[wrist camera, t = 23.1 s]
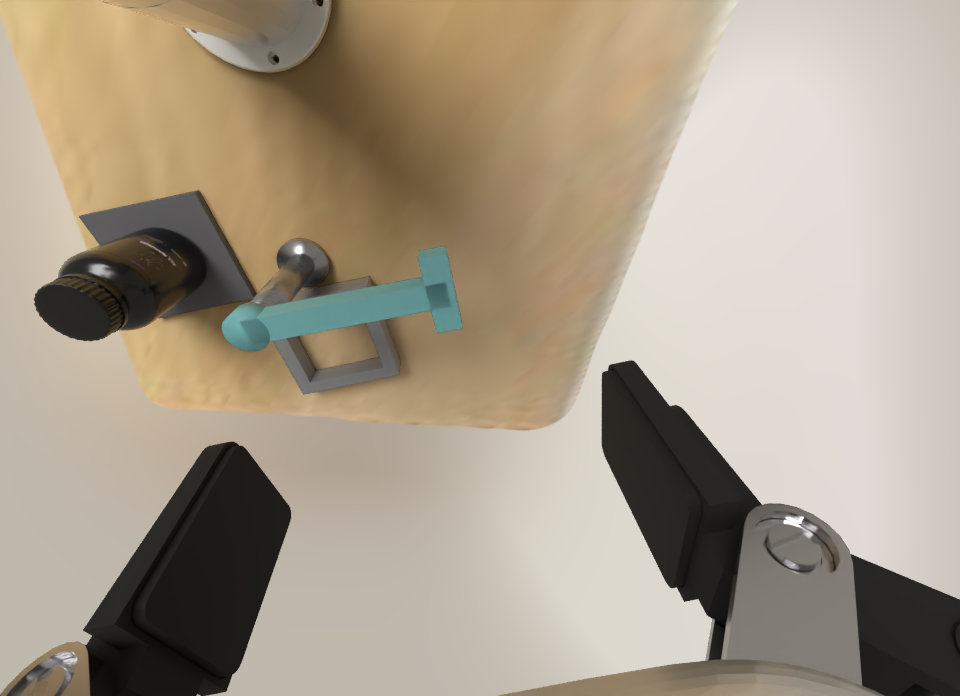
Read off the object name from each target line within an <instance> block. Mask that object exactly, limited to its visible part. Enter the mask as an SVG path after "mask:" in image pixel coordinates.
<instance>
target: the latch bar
mask: <svg viewBox="0 0 960 696" xmlns="http://www.w3.org/2000/svg"><path fill="white" fill-rule="evenodd" d="M418 262H419V266H420V270H421V273H422V277H420V278H414V279H409V280H404V281H399V282H393V283H388V284H383V285H378V286H373V287H367V288H362V289H357V290H352V291H346V292H341V293H336V294H331V295H326V296H320V297H315V298H310V299H305V300H299V301H294V302H289V303H284V304H279V305H273V306H268V307H265V306H263V305H261V304H257V303H244V304H241V305H239V306H238V307H237V308H236V309H235V310H234V311H233V312H232V313H231V314H230V315H229V316H228V317H227V318H226V319H225V320H224V322H223V324H222V333H223V335H224V337H225V339H226V340H227V341H228V342H229V343H230V344H231V345H233V346H234V347H236V348H238V349H240V350H243V351H249V352H255V351H260V350H262V349H264V348H265V347H266V346H267V345H268V344H269V342H270V341H274V340H280V339H285V338H290V337H295V336H301V335H306V334H311V333H316V332H322V331H327V330H332V329H337V328H342V327H348V326H353V325H358V324H363V323H369V322H374V321H379V320H384V319H389V318H395V317H400V316H405V315H410V314H416V313H421V312H426V311H431V312H432V316H433V319H434V323H435V327H436V331H437V333H441V332H446V331H451V330H457V329H462V320H461V314H460V310H459V305H458V300H457V296H456V291H455V286H454V282H453V277H452V272H451V268H450V263H449V258H448V254H447V249H446V246H442V247H436V248H431V249H426V250H421V251H419V253H418Z"/></svg>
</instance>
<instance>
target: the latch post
mask: <svg viewBox="0 0 960 696" xmlns="http://www.w3.org/2000/svg"><path fill="white" fill-rule="evenodd" d="M277 265H278V268H279V271H278V272H277V273H276V275H275V276H274V277H273V278H272V279H271V280H270V281H269V282H268V283H267V284H266V285H265V286H264V287H263V288H262V290H261V291H260V292H259V293H258V294H257V295H256V296H255V297H254V298H253V299H252V300H251V301H250V302H249V303H257V304H261V305H263V306H265V307H268V306H273V305H279V304H284V303H289V302H292V300H293V299H294V298H295V296H296V295H297V293H298V292H299V291H300V289H301V288H302V286H304V287H311V286H315V285H318V284H319V283H321V282H322V281H323V280H324V279H325V277H326V276H327V274H328V272H329V267H330V264H329V259H328V256H327V254H326V253H325V251H324V250H323V249H322V248H321V247H320V246H319V245H318V244H316V243H315V242H313V241H311V240H308V239H303V238H296V239H292V240H289V241H288V242H286V243H285V244H284V245H283V246H282V247H281V248H280V249H279V251H278V254H277Z"/></svg>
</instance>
